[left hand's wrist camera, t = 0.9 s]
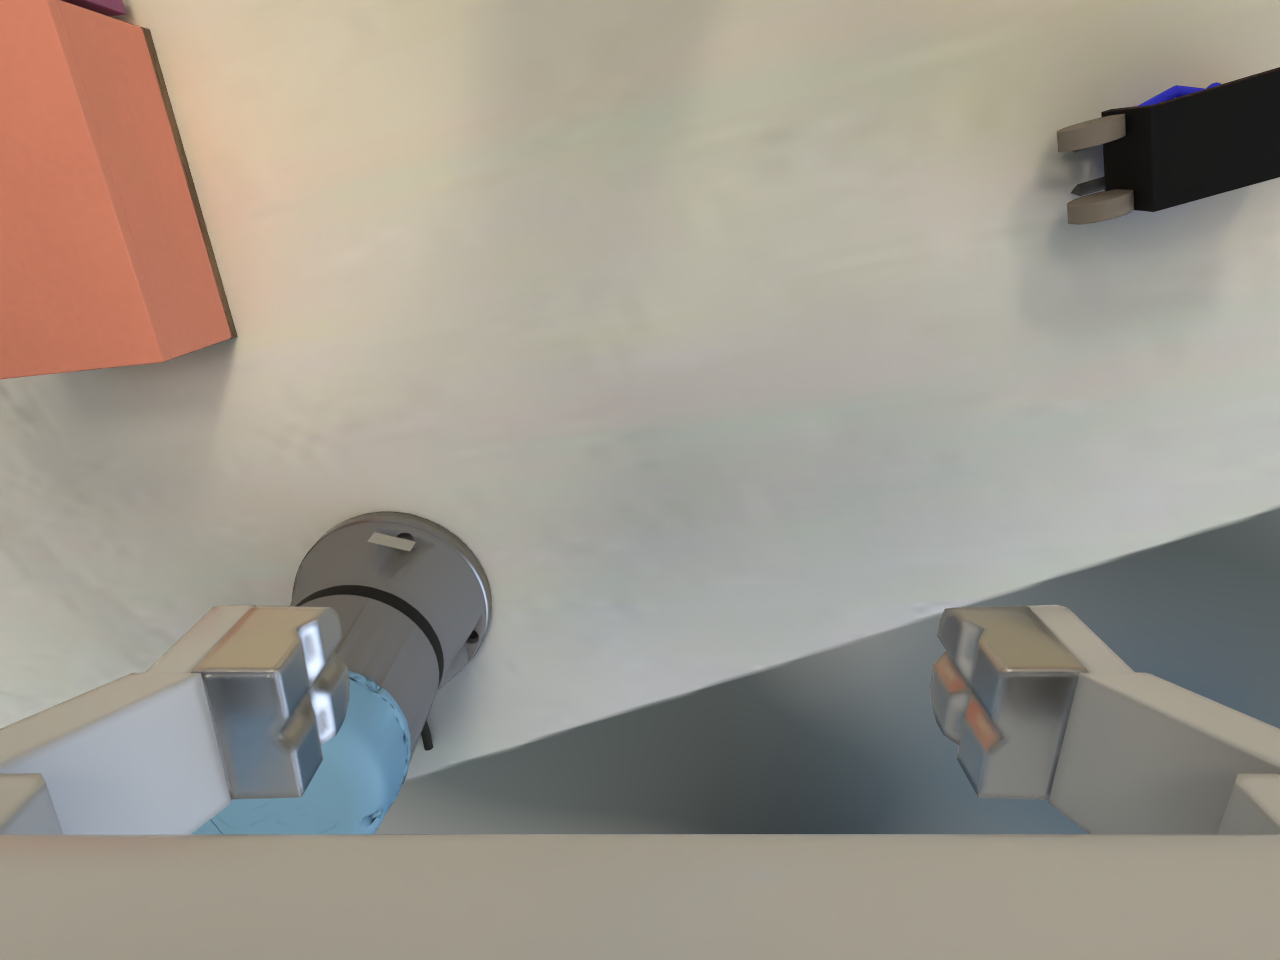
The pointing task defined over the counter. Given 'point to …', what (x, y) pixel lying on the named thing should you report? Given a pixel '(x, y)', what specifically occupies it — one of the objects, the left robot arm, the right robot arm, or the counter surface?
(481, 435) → the counter surface
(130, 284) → the cabinet
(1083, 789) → the left robot arm
